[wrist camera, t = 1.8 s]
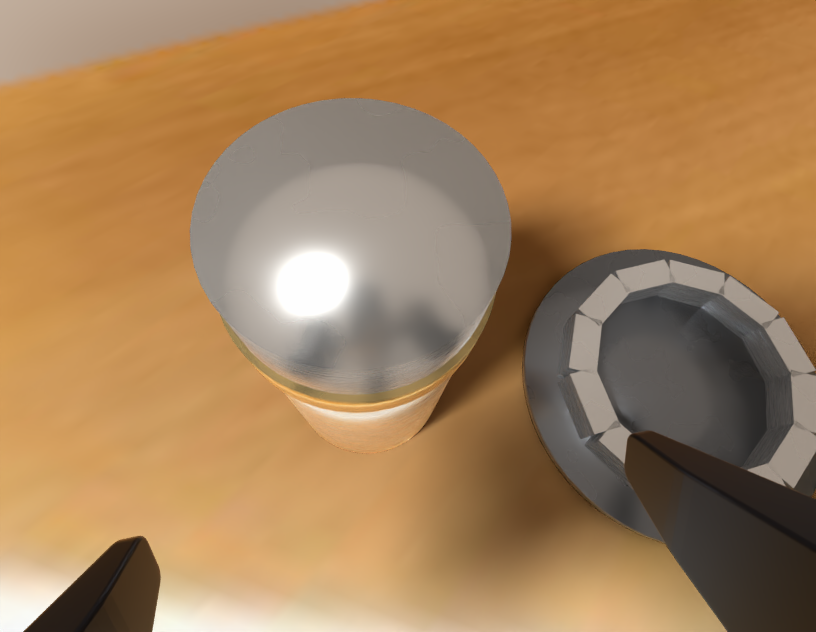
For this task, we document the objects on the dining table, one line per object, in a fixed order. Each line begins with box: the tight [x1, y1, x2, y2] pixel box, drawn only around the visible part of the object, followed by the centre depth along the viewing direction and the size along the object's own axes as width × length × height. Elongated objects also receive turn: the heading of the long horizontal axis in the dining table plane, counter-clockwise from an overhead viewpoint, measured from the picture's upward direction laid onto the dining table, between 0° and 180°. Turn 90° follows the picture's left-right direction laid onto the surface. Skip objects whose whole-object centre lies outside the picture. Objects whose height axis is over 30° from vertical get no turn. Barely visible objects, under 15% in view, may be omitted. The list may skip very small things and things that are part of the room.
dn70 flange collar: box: [522, 249, 816, 543], centre depth 21 cm, size 14×14×2 cm
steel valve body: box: [190, 98, 511, 454], centre depth 15 cm, size 7×7×13 cm
